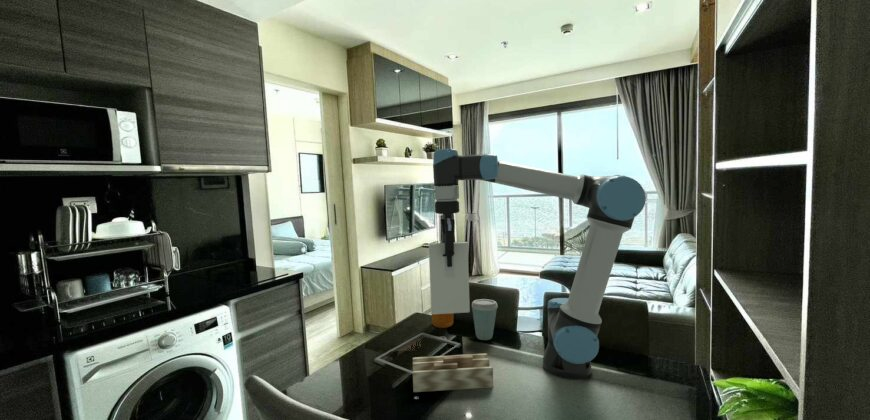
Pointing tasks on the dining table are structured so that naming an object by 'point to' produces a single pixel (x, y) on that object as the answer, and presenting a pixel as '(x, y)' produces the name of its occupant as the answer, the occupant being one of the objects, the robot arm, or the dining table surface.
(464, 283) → the tall sheet
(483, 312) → the disposable coffee cup
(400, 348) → the picture frame
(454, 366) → the offcut front
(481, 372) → the rack
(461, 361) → the offcut near sheet
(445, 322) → the wine bottle
